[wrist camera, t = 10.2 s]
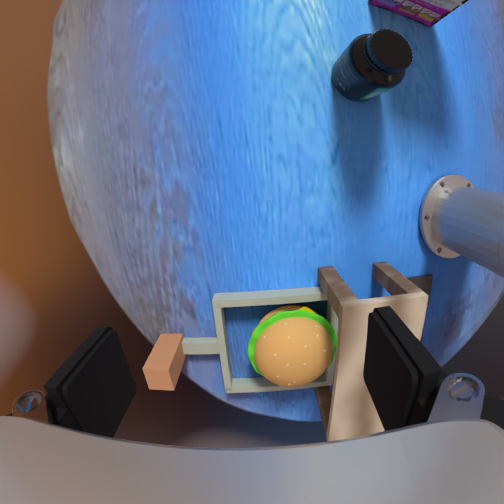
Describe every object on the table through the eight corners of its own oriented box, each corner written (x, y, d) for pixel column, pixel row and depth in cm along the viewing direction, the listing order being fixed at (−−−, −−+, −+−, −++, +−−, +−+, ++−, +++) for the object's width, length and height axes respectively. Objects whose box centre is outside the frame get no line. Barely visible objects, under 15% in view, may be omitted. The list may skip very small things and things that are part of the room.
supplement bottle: (372, 110, 34) (416, 91, 22) (324, 91, 33) (353, 61, 22) (382, 69, 32) (424, 39, 20) (336, 49, 32) (366, 10, 20)
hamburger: (233, 316, 42) (229, 350, 33) (313, 281, 40) (327, 309, 32) (269, 375, 44) (271, 413, 36) (340, 346, 43) (355, 380, 35)
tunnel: (385, 261, 39) (428, 295, 27) (370, 381, 45) (394, 430, 33) (318, 267, 39) (342, 306, 28) (314, 389, 45) (327, 443, 33)
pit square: (431, 274, 40) (432, 275, 39) (427, 304, 41) (428, 305, 41) (404, 277, 40) (405, 278, 39) (401, 308, 41) (402, 309, 41)
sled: (334, 285, 40) (354, 314, 31) (329, 375, 44) (341, 413, 36) (152, 295, 41) (130, 326, 32) (173, 382, 45) (160, 420, 36)
